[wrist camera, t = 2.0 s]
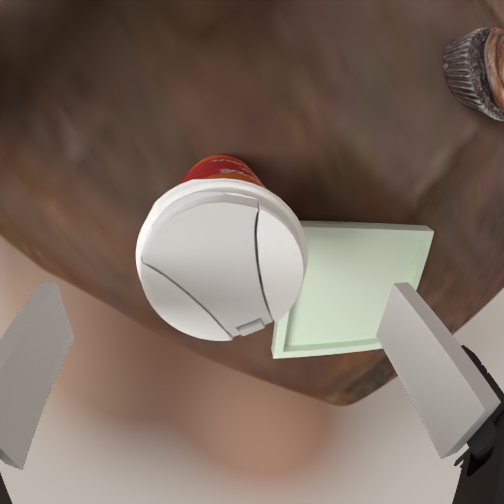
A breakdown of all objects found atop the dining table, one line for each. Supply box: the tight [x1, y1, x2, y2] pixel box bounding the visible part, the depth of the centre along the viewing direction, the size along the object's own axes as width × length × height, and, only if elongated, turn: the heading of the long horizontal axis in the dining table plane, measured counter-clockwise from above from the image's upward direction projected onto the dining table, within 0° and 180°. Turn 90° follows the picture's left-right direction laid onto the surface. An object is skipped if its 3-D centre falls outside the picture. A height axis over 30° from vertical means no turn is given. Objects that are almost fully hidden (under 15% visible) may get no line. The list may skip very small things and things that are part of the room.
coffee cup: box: [136, 154, 308, 341], centre depth 20 cm, size 8×8×15 cm
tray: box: [271, 220, 434, 358], centre depth 33 cm, size 16×16×2 cm
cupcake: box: [443, 27, 504, 121], centre depth 18 cm, size 10×10×10 cm
